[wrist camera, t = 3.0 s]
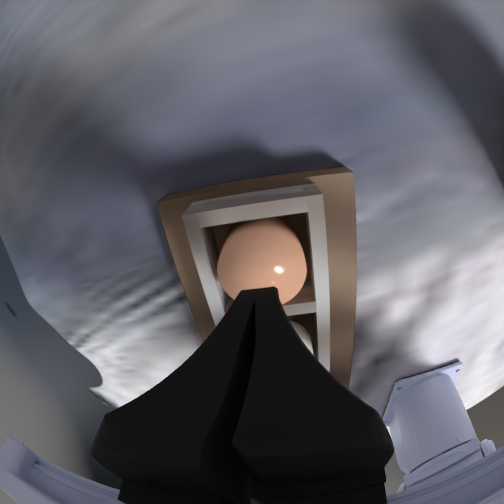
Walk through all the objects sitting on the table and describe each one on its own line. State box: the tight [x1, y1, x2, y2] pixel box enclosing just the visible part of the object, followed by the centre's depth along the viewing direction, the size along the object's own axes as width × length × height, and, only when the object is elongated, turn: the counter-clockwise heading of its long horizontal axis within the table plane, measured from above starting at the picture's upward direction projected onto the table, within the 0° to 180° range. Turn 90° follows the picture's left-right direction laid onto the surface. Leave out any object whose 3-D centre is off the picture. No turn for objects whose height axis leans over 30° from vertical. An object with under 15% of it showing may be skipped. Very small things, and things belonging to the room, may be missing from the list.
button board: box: [157, 167, 357, 389], centre depth 17 cm, size 18×10×4 cm, turn 10°
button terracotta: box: [217, 216, 307, 304], centre depth 14 cm, size 4×4×2 cm
